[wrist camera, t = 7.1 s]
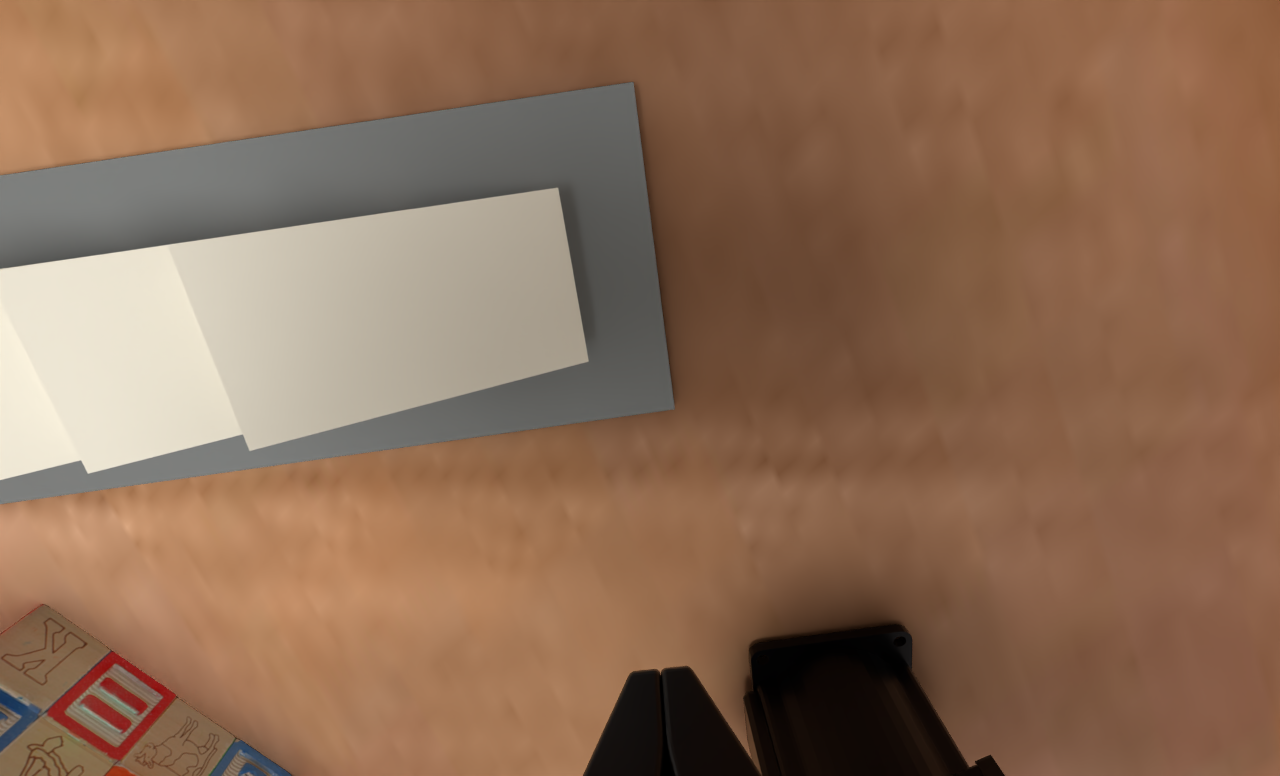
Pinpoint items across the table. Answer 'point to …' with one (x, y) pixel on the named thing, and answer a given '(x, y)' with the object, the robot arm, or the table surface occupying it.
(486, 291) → the domino
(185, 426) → the domino
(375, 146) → the mat
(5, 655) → the stack of blocks
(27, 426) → the domino
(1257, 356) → the table surface
